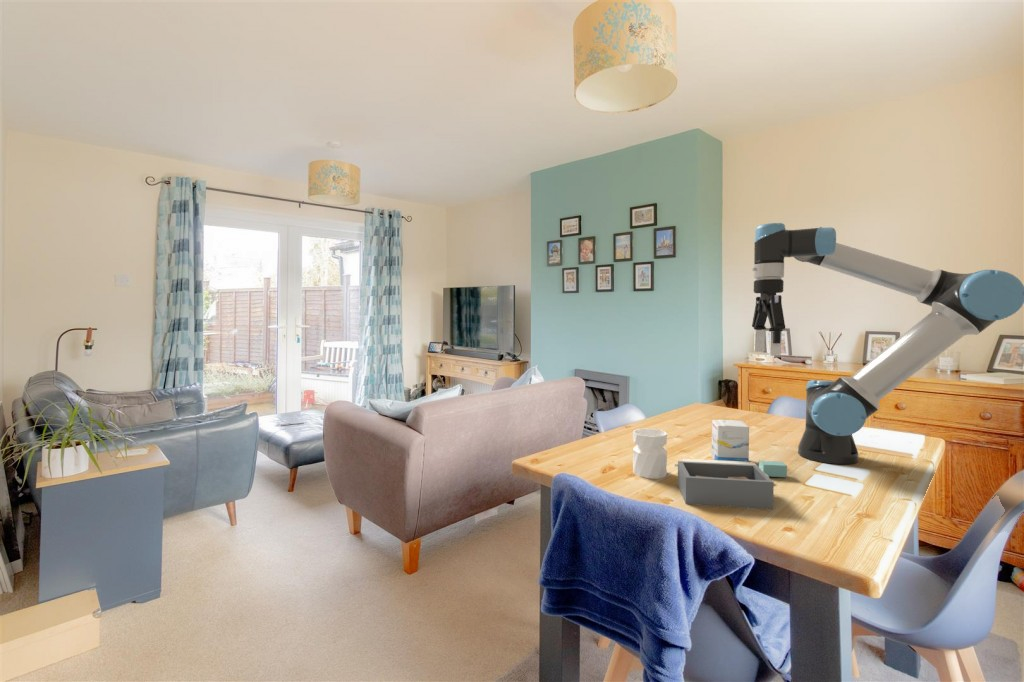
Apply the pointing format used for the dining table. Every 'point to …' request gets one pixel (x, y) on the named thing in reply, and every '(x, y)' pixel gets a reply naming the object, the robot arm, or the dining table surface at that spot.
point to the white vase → (650, 453)
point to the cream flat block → (766, 466)
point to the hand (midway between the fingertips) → (766, 353)
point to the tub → (725, 485)
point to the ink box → (730, 440)
